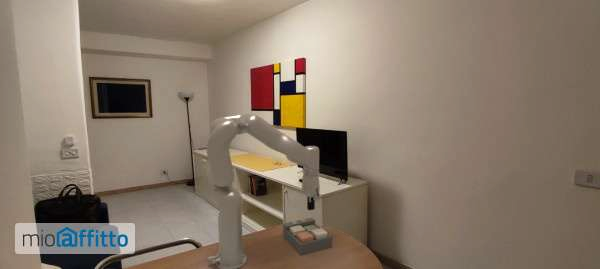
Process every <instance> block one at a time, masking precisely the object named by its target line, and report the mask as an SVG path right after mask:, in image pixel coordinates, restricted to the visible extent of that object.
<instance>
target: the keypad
mask: <svg viewBox="0 0 600 269" xmlns="http://www.w3.org/2000/svg"><path fill="white" fill-rule="evenodd" d="M298 225H301V226H302V227H303V228H304V227H305V226H309V225H315V226H316V227H317V228H321V227H320V226H318V225H317V224H316V220H315V218H313V217H306V218H302V219H298V220H292V221H288V222H283V223H282V236H283V237H282V238H284V240H285V241H286V242H287V243H288V244H289V245H290V246H291V247H292V248H293V249H294V250H295V251H296V252H297V253H298V254H299V255H300V256H304V255H307V254H311V253H315V252H318V251H322V250H326V249H330V248H332V247H333V246H332V245H333V238H332V237H333V236H331V235H330V234H329V233H328V232H327V237H325V238H321V239H316V238H315V237H313V241H309V242H305V243H301V242H300V241H299V240H298V239H297V236H294V235H293V234H292V233H291V232H290V227H294V226H298Z"/></svg>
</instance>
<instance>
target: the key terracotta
mask: <svg viewBox="0 0 600 269" xmlns="http://www.w3.org/2000/svg"><path fill="white" fill-rule="evenodd" d="M297 239H298V240H299V241H300V242H301V243H305V242H309V241H313V236H312V235H311V234H310V233H309V232H308V231H306V232H302V233H298V234H297Z"/></svg>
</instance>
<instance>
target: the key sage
mask: <svg viewBox="0 0 600 269" xmlns="http://www.w3.org/2000/svg"><path fill="white" fill-rule="evenodd" d="M304 229H305V232H306V231H308V232H309V233H310V234H311V230H315V229H319V228H317V227H316V226H315V225H309V226H305V227H304Z"/></svg>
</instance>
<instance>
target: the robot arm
mask: <svg viewBox="0 0 600 269" xmlns="http://www.w3.org/2000/svg"><path fill="white" fill-rule="evenodd" d="M210 130H211V133H210V135H209V137H208V139H207V142H206V156H207V159H208V160H207V162H208V165H207V166H206V173H205V174H206V178H207V183H208V188H209V192H210V194H211V198H212V200H213V201H214V203H215V204H216V205H217V207H218V214H217V215H218V216H217V217H218V218H217V228H218V251H217V253H216V254H215V255H213V256H212V255H210V256H207V262H208V263H210V262H211V264H215V265H216V268H218V269H240V268H242V267H243V266H245V264H247V259H248V258H247V255H246V254H245V253H243V252H244V251H243V250H244V246H243V245H244V244H243V219H242V218H243V208H244V207H243V206H244V200H243V196H242V194H241V193H240V192H239V191H238V190H237V189H236V188H235V187H234V186H233V183H234V182H235V170H234V166H233V162H232V158H231V153H230V145H231V144H232V142H233V140H234V139H235V138H236V137H237V136H238V135H242V134H248V135H250V136H251V137H253V138H254V139H256V140H258V141H259V142H261V144H263V145H265V146H266V147H268V148H269V149H271V150H273V151H274V152H278V153H281V154H283V155H285V157H286V159H287V160H288V161H289V162H290V163H293V164H296V165H299V166H302V167H303V170H302V172H303V173H302V174H303V175H302V178H301V179H302V180H301V193H302V194H303V195H305V197H306V201H307V203H306V210H308V211H313V210H315V206H316V205H315V204H316V203H315V202H316V201H318V199H319V198H318V197H320V192H321V191H320V189H321V188H320V149H319V147H318V146H316V145H307V146H306V145H305V146H303V145H302V144H301V143H299V141H297V140H295V139H294V138H292V137H289V136H288V135H287V134H286V133H283V132H282V131H280V130H279V129H277V128H276V127H274V126H273V125H272V124H270V123H269V122H268V121H266V120H265V119H264V118H262V117H261V116H259V115H257V114H253V113H242V114H237V115H229V116H224V117H219V118H216V119H214V120H213V121H212V122H211V125H210Z"/></svg>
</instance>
